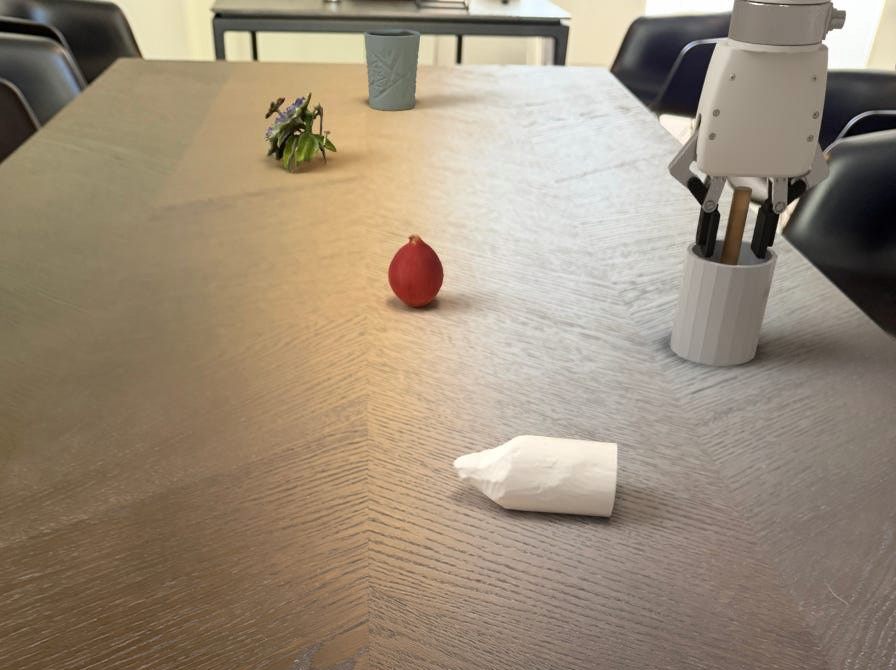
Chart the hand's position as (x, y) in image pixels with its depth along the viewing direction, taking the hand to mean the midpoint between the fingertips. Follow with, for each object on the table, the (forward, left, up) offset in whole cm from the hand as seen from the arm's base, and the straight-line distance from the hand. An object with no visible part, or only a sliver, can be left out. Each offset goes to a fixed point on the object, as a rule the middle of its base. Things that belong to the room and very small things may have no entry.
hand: (731, 251), depth 93 cm
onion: (+30, -10, -10) cm, 33 cm away
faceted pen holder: (0, 0, -10) cm, 10 cm away
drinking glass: (+40, -113, -10) cm, 120 cm away
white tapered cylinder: (+19, +30, -10) cm, 37 cm away
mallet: (0, 0, -9) cm, 9 cm away
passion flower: (+51, -70, -10) cm, 87 cm away
